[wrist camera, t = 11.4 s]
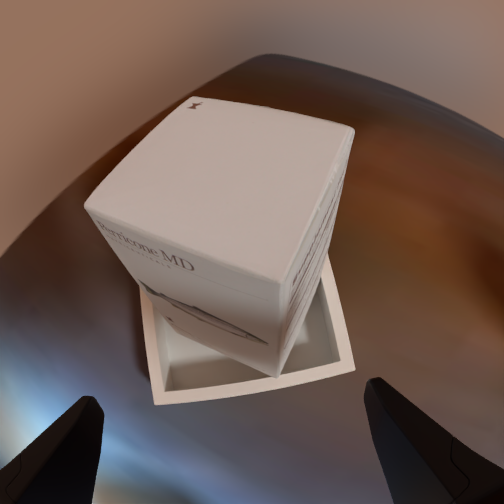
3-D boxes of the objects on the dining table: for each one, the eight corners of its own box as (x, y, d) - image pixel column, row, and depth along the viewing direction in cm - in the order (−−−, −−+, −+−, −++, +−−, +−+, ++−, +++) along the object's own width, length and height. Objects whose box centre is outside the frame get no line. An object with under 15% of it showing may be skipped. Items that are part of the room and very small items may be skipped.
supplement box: (173, 334, 20) (72, 203, 9) (226, 247, 23) (191, 89, 13) (278, 384, 18) (283, 288, 7) (323, 283, 21) (357, 120, 11)
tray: (344, 369, 20) (355, 370, 18) (168, 400, 20) (154, 405, 17) (304, 209, 25) (308, 190, 22) (149, 239, 25) (136, 223, 22)
